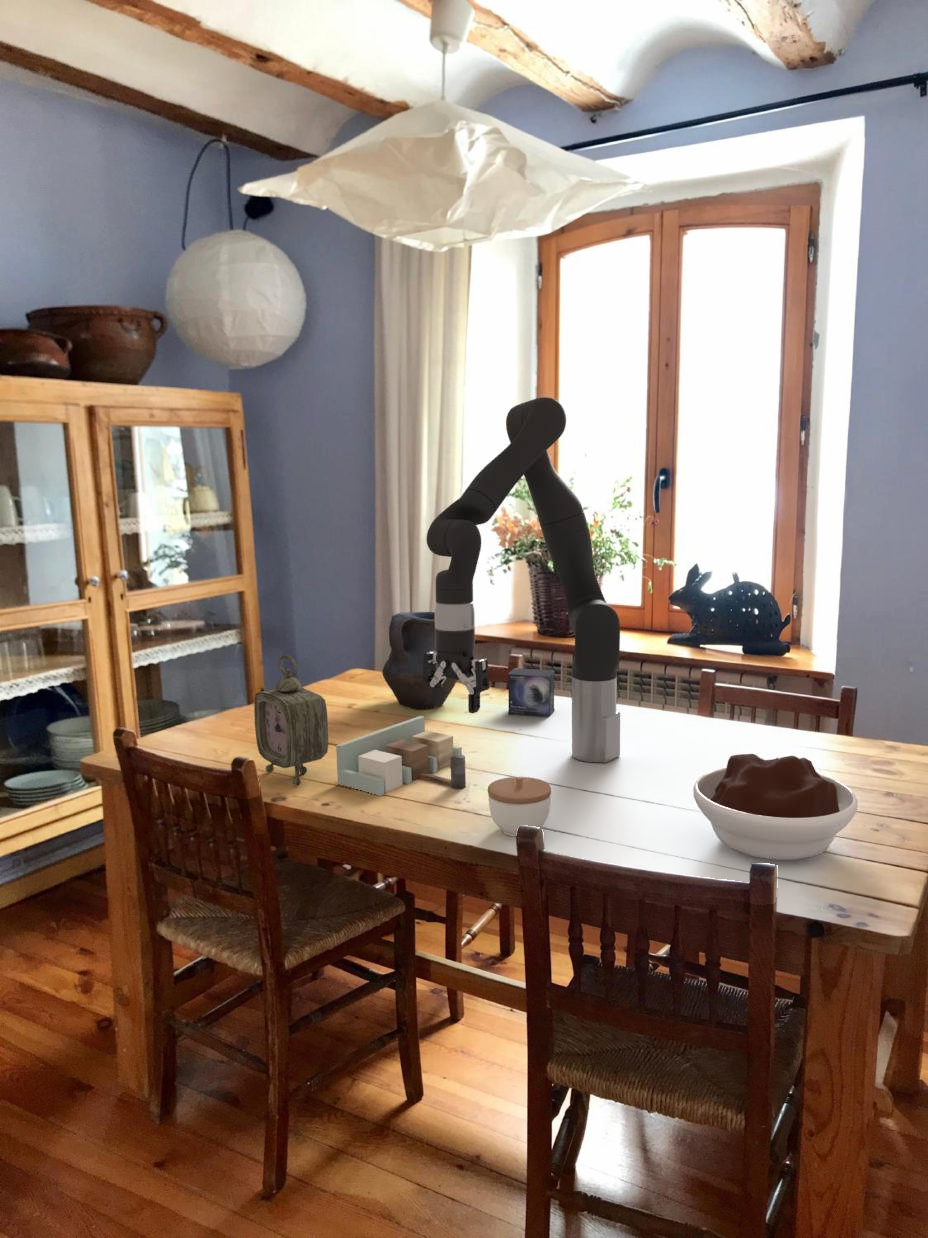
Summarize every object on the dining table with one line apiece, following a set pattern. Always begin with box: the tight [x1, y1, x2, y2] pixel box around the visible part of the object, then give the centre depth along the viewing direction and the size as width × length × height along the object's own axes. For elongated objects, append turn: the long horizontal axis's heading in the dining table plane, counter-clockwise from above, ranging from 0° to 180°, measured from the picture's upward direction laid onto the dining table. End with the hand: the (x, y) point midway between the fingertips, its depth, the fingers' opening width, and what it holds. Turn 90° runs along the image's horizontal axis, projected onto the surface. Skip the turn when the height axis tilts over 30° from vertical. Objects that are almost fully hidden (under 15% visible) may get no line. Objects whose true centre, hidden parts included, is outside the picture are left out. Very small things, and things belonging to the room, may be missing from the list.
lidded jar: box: [487, 776, 552, 838], centre depth 163 cm, size 11×11×9 cm
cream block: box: [358, 750, 403, 793], centre depth 187 cm, size 7×5×6 cm
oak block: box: [412, 730, 454, 771], centre depth 199 cm, size 7×5×6 cm
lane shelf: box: [335, 715, 463, 797], centre depth 194 cm, size 11×25×8 cm, turn 142°
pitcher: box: [381, 611, 458, 711], centre depth 243 cm, size 21×22×25 cm
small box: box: [507, 667, 555, 718], centre depth 236 cm, size 11×6×10 cm, turn 73°
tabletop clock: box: [253, 654, 329, 786], centre depth 191 cm, size 14×9×25 cm, turn 40°
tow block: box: [386, 740, 467, 790], centre depth 190 cm, size 18×5×6 cm, turn 52°
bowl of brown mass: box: [692, 753, 858, 861], centre depth 154 cm, size 25×25×15 cm
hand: (455, 709), depth 183 cm, fingers open, 8 cm apart
